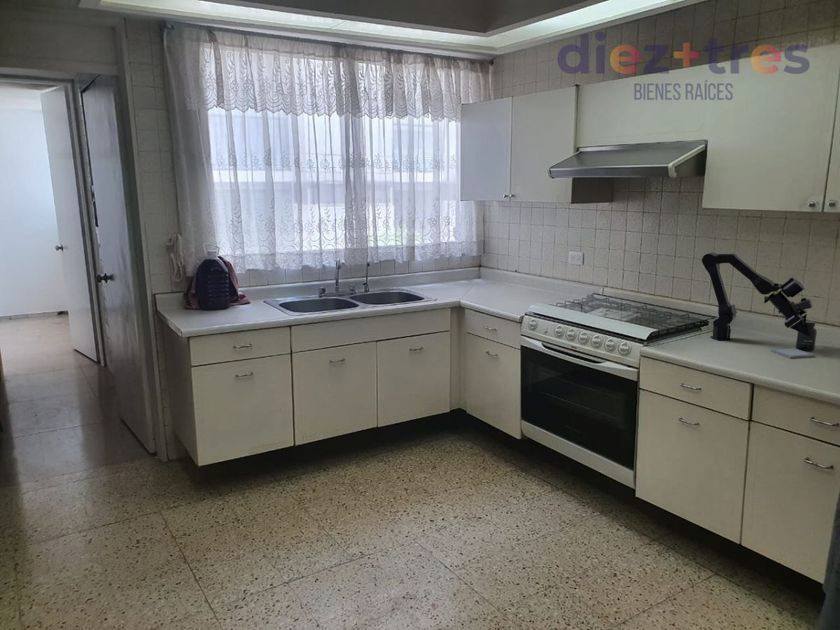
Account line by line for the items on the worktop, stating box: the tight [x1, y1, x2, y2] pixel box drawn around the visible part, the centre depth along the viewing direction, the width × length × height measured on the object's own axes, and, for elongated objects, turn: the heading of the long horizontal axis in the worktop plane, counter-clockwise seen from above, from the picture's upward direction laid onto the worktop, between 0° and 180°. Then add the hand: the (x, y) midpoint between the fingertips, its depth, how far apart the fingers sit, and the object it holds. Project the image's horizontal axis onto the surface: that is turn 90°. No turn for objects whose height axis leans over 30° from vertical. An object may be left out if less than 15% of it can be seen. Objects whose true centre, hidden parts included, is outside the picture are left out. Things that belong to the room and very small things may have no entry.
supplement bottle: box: [795, 320, 818, 352], centre depth 259 cm, size 7×7×12 cm
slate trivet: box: [770, 347, 816, 360], centre depth 253 cm, size 11×11×1 cm
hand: (810, 333), depth 257 cm, fingers closed on supplement bottle, 7 cm apart
